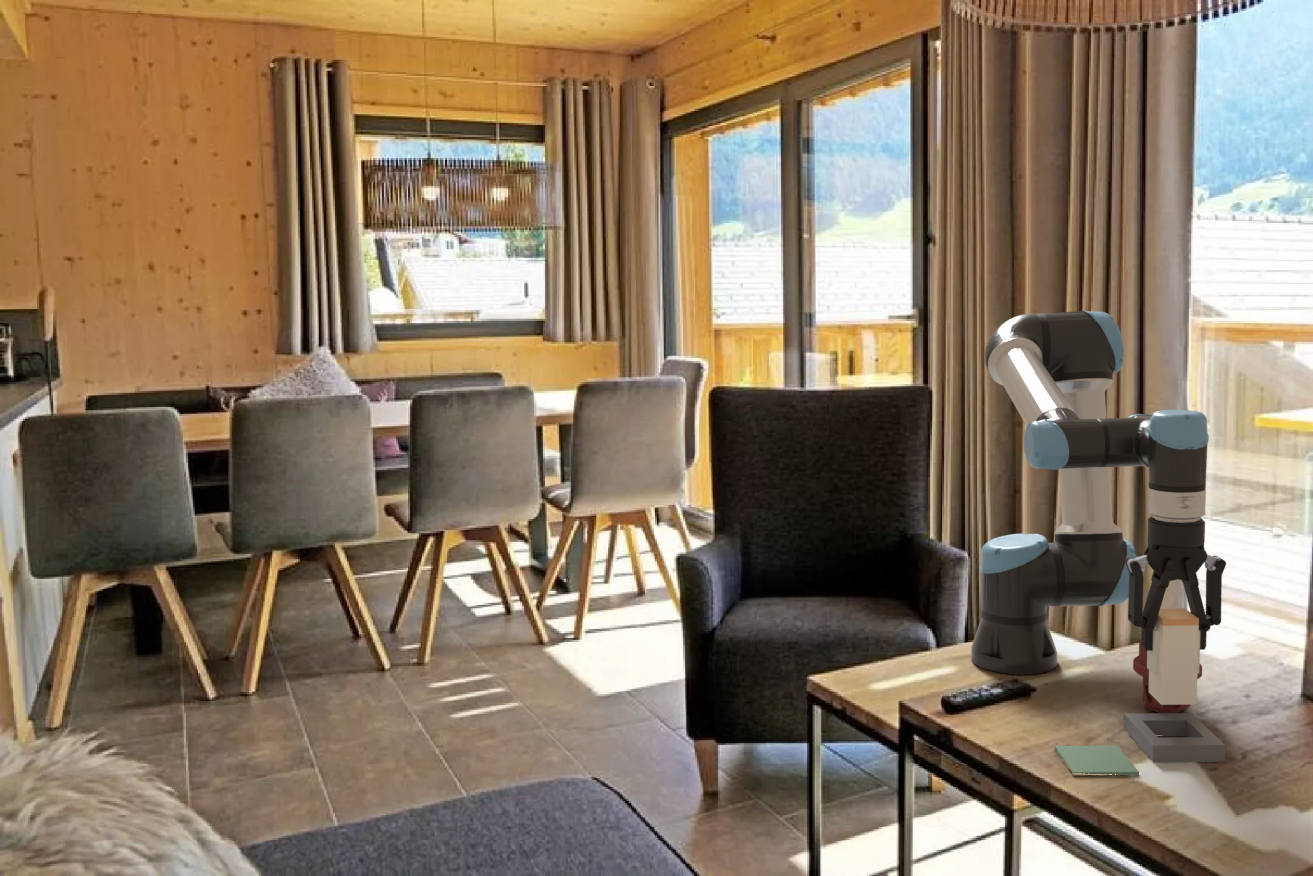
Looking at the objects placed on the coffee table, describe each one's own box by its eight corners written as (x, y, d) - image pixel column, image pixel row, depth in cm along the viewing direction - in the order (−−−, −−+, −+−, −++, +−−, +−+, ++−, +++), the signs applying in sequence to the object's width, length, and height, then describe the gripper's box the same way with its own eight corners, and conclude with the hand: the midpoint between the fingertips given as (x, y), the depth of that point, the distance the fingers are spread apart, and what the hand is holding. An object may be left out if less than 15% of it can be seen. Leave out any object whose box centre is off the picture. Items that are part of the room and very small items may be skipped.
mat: (1054, 749, 160) (1054, 746, 160) (1117, 749, 159) (1117, 745, 159) (1073, 776, 151) (1073, 772, 151) (1139, 775, 150) (1139, 771, 150)
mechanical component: (1191, 701, 176) (1209, 725, 167) (1126, 699, 178) (1140, 722, 169) (1192, 628, 175) (1211, 648, 165) (1127, 627, 177) (1141, 647, 167)
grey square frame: (1123, 729, 166) (1124, 713, 166) (1190, 728, 166) (1191, 713, 165) (1152, 762, 155) (1153, 745, 154) (1225, 761, 154) (1225, 745, 153)
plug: (1148, 692, 162) (1150, 608, 161) (1182, 691, 162) (1184, 608, 160) (1161, 704, 157) (1163, 619, 156) (1196, 704, 157) (1198, 618, 155)
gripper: (1121, 524, 153) (1118, 680, 156) (1253, 520, 151) (1247, 678, 155) (1103, 513, 160) (1101, 662, 164) (1229, 510, 159) (1225, 660, 162)
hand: (1172, 670), depth 159 cm, fingers closed on plug, 5 cm apart
